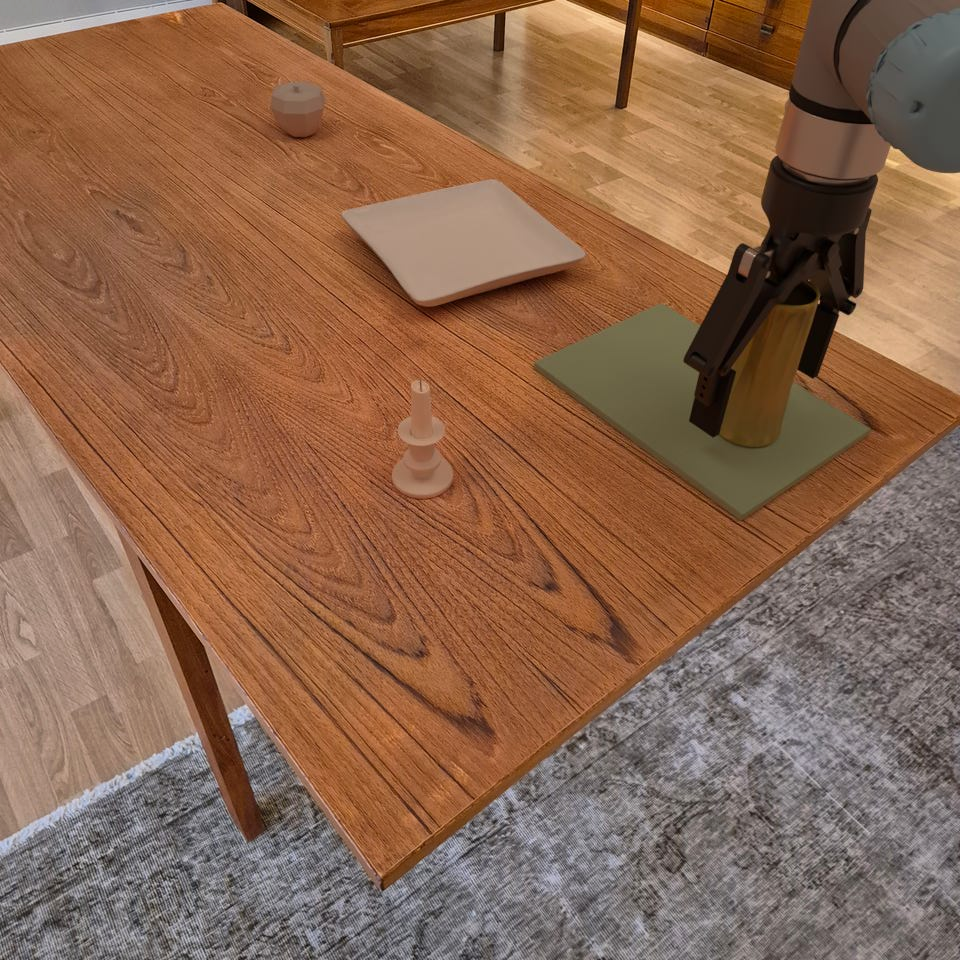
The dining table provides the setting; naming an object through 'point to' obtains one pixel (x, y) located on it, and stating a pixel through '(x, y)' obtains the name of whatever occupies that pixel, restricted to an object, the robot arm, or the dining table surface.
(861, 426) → the mat
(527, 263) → the plate
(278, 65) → the dining table surface
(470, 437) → the dining table surface
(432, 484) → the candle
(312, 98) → the apple
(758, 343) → the fluted gold cylinder
